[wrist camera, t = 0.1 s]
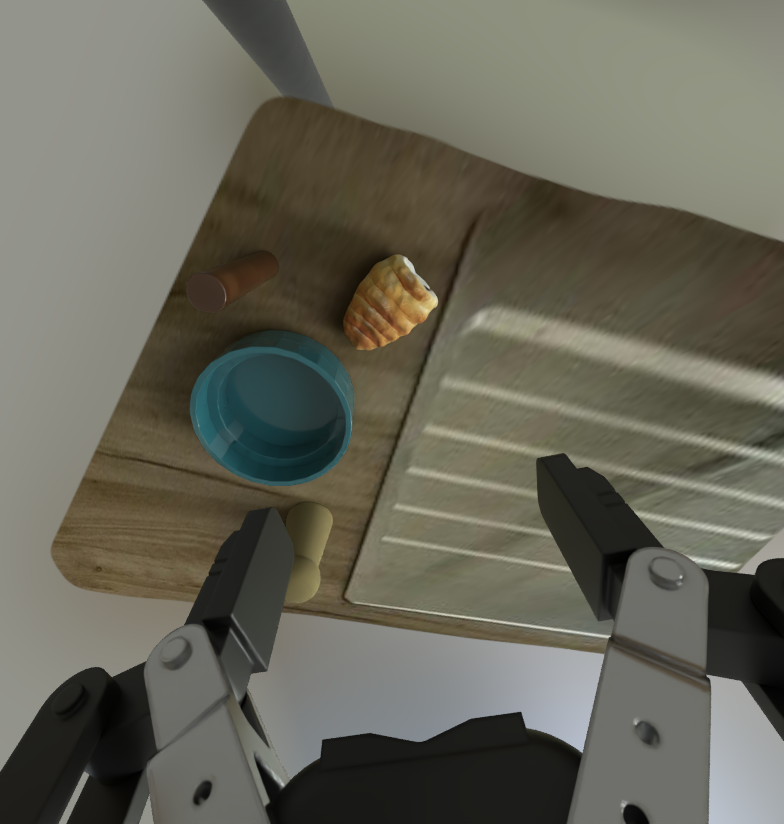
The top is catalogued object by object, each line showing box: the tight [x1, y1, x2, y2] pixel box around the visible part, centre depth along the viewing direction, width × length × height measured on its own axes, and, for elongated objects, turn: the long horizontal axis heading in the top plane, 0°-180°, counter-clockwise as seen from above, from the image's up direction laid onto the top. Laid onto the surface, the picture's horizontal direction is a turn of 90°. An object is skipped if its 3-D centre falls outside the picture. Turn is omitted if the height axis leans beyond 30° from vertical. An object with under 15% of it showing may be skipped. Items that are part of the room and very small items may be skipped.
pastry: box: [343, 254, 438, 350], centre depth 36 cm, size 9×7×4 cm
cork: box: [284, 502, 333, 603], centre depth 46 cm, size 6×6×11 cm
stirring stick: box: [186, 251, 279, 313], centre depth 30 cm, size 2×2×14 cm
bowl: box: [190, 330, 355, 486], centre depth 40 cm, size 15×15×6 cm
